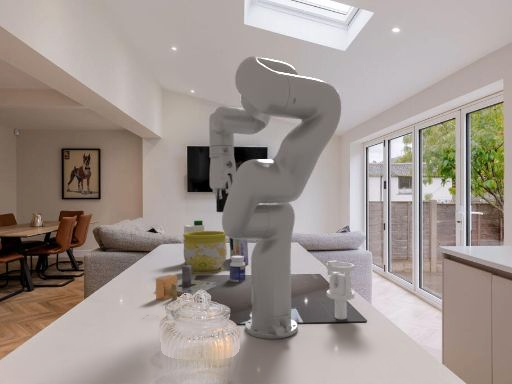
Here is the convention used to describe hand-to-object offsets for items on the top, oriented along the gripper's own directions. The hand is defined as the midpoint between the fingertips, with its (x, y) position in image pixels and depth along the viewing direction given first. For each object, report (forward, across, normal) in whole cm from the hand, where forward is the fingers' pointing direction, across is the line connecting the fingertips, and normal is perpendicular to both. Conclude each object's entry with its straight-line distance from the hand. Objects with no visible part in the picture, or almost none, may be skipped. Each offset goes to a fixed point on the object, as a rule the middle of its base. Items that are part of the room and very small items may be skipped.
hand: (222, 211), depth 112 cm
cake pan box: (+27, +51, -36) cm, 68 cm away
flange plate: (+26, +11, +9) cm, 29 cm away
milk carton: (+27, +59, -16) cm, 67 cm away
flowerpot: (+27, +38, -12) cm, 48 cm away
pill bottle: (+27, +14, -13) cm, 33 cm away
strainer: (+27, -32, -18) cm, 46 cm away
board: (+27, +12, +7) cm, 31 cm away
